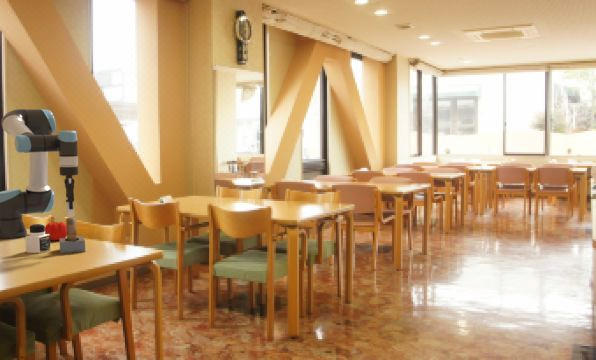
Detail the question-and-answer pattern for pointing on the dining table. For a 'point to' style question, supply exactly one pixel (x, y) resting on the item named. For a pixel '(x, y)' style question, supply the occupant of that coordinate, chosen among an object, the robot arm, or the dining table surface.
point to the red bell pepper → (56, 230)
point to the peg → (71, 229)
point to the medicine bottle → (37, 239)
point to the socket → (72, 245)
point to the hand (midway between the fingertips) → (70, 214)
